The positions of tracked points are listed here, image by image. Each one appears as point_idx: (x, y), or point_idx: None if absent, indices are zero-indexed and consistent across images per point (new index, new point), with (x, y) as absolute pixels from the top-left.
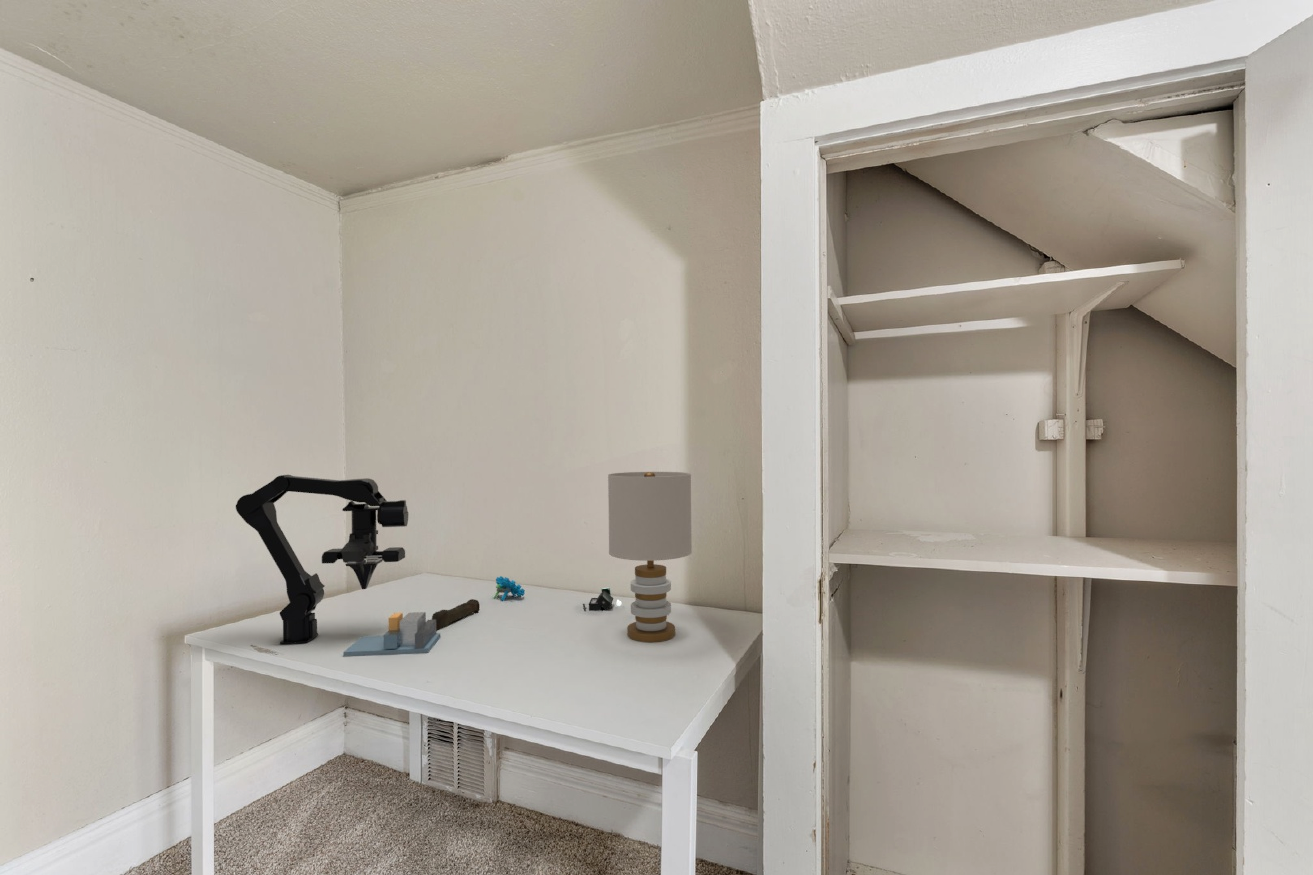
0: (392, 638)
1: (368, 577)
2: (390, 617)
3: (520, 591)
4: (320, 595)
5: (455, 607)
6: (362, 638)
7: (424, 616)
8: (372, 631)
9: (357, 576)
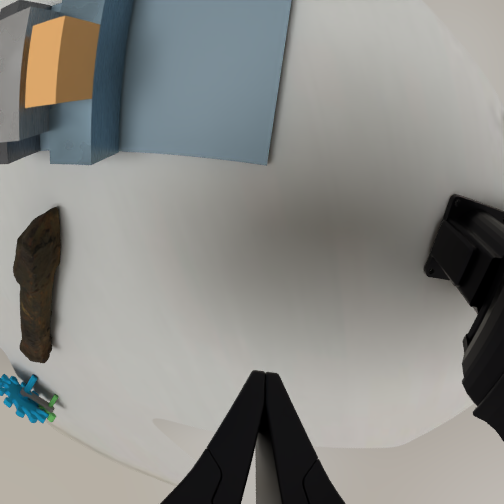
0: None
1: (209, 446)
2: (58, 23)
3: (7, 378)
4: (490, 349)
5: (32, 320)
6: (257, 135)
7: None
8: (251, 262)
9: (316, 464)
